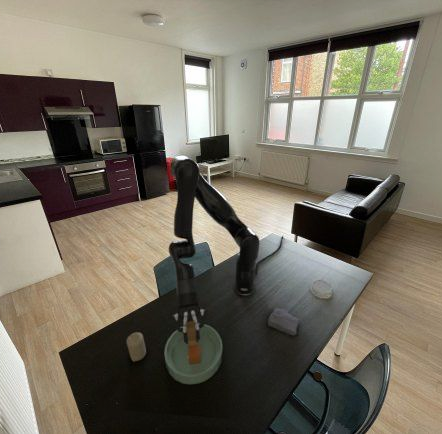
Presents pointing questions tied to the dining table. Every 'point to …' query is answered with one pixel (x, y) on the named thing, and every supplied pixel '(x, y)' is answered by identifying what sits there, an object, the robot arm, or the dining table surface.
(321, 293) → the coaster
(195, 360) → the block
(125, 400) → the dining table surface
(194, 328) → the stirrer
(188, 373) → the bowl
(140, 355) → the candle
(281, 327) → the stone block
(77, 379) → the dining table surface
